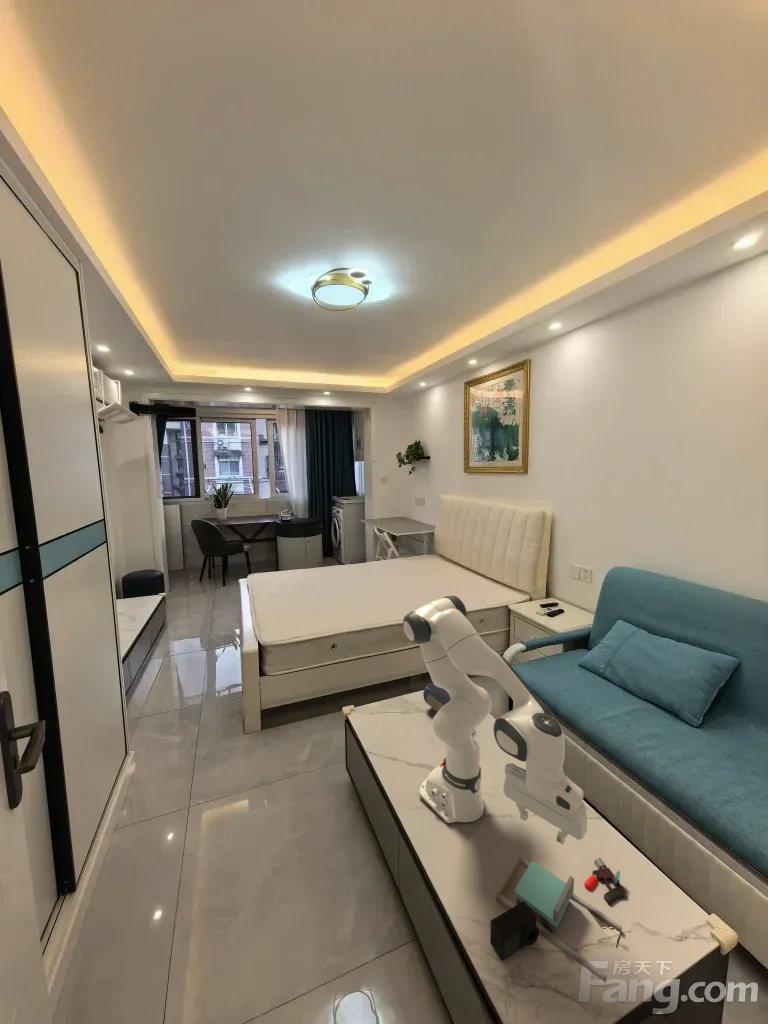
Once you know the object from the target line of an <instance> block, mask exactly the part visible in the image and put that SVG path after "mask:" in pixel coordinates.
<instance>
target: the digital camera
mask: <svg viewBox="0 0 768 1024" xmlns="http://www.w3.org/2000/svg"><path fill="white" fill-rule="evenodd" d="M489 936H490V938H489V939H490V940H489V941H490V945H491V946H492V948H493V950H494V951H495V953H496V954H497V956H498V957H499V959H500V960H501V962H503V961H505V960H506V959H508V958H510V957H511V956H513V955H514V954H516V953H517V952H518V951H520V950H522V949H523V948H524V947H526V946H527V947H530V946H532V945H533V944H535V943H536V941H537V940H538V938H539V936H540V933H539V929H538V928H537V926H536V917H535V915H534V914H533V912H532V911H531V910H530V908H529V907H528V906H527V904H526V903H525V902H522V903H520V904H518V905H516V906H515V907H513V908H511V909H507V910H506V911H504V912H502V913H501V914H499V915H498V916H495V917H494V918H493V919H491V920H490V935H489Z"/></svg>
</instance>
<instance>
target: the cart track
mask: <svg viewBox="0 0 768 1024" xmlns="http://www.w3.org/2000/svg"><path fill="white" fill-rule="evenodd" d="M530 863H531V862H528V861H527V860H525V859H524V858H522V857H519V859H518V863H517V865H516V866H515V867H514V869H513V871H512V873H511V874H510V876H509V877H508V879H507V880H506V882H505V884H504V885H503V887H502V889H501V890H500V892H499V891H498V892H497V893H496V901H497V902H498V903H500V904H501V905H502V906H503V907H505V908H506V909H507V910H509V909H511V908H513V907H515V906H516V905H518V904H517V901H516V898H517V897H516V896H515V895H514V890H515V888H516V887H517V885H518V883H519V882H520V880H521V878H522V877H523V875H524V873H525V872H526V870H527V868H528V867H529V865H530ZM571 899H572V900H573V901H575V902H577V903H578V904H579V905H581V906H583V907H584V908H586V910H587V911H588V912H589V913H590V915H591V916H592V917H593V920H595V921H596V922H597V924H598V926H599V927H600V928H601V929H602V927H607V928H609V927H613V928H609V929H611V930H614V929H616V930H617V931H619V932H620V933H621V934H622V926H621V924H619V923H617V922H615V921H614V920H613V919H612V918H610V917H608V916H607V915H605V914H604V913H602V912H601V911H600V910H599V909H597V908H595V907H593V906H592V905H591V904H589V903H587V902H586V901H585V900H584V899H582V898H581V897H579V896H578V895H577V894H575V893H573V894H572V897H571ZM529 908H530V907H529ZM530 910H531V911H532V912H533V914H534V915H535V917H536V926H537V928H538V929H539V934H541V935H542V936H543V937H544V938H547V940H549V941H550V942H552V943H553V944H555V945H556V946H557V947H559V948H560V949H562V950H563V952H566V953H567V954H568V955H570V956H571V957H572V958H573V959H575V960H576V961H577V962H579V963H581V965H582V966H584V967H586V968H587V969H588V970H590V971H591V972H592V973H593V974H595V975H596V976H598V977H599V978H601V980H602V981H606V978H607V976H606V975H605V974H604V973H603V972H602V971H600V970H599V969H598V968H597V967H595V966H594V965H592V963H590V962H589V961H588V960H587V959H585V958H584V957H583V956H581V955H580V954H579V953H577V952H576V951H575V950H573V949H572V948H571V947H569V946H568V945H567V944H566V943H564V942H563V941H562V940H561V939H559V937H557V936H555V935H554V932H552V931H550V930H548V929H547V928H546V926H545V925H544V922H543V919H544V918H543V917H542V916H541V915H540V914H538V913H537V912H536V911H534V910H533V909H532V908H530ZM603 929H606V928H603ZM603 929H602V930H603Z"/></svg>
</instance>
